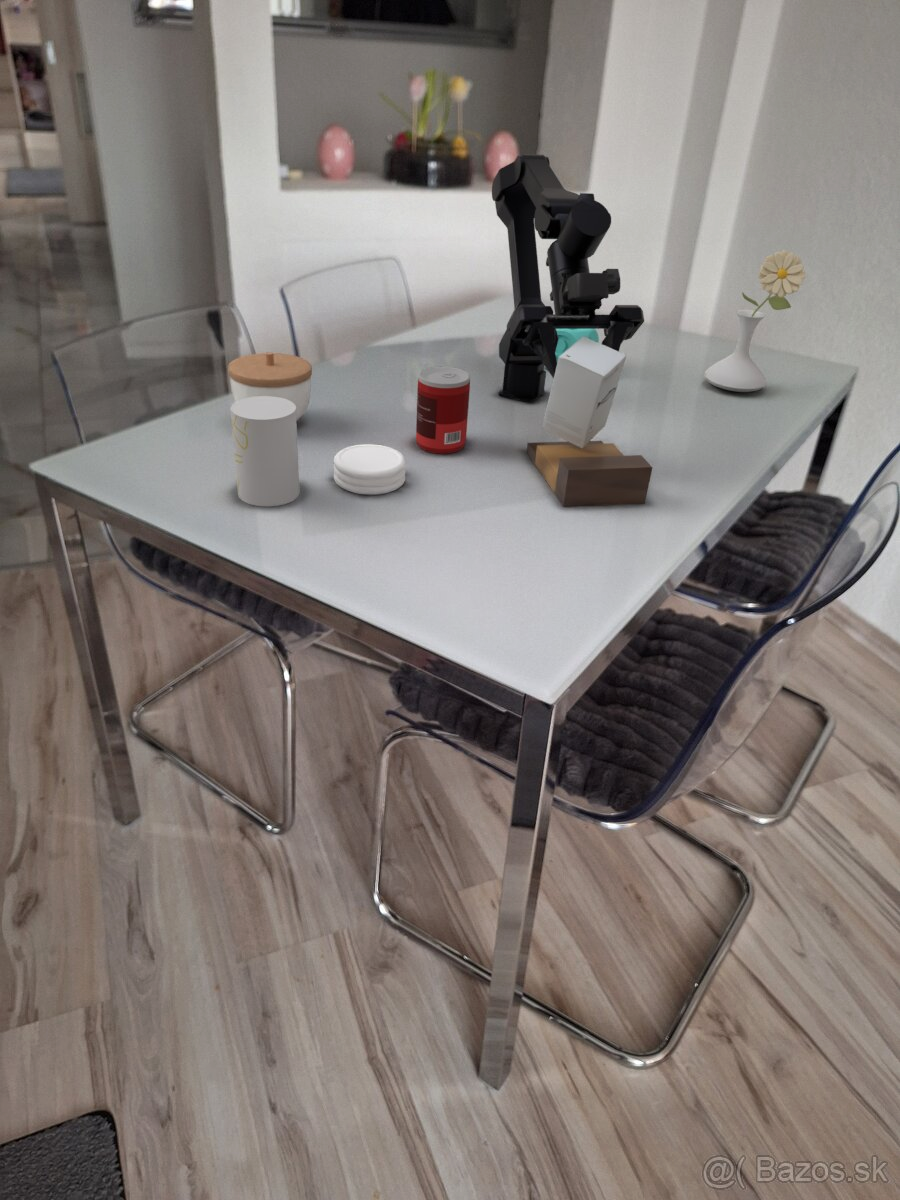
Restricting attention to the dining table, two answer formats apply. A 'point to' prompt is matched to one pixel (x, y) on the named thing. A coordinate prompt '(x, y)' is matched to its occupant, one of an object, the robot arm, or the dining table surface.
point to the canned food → (442, 409)
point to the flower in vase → (738, 367)
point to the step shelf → (591, 473)
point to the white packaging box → (583, 391)
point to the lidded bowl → (272, 378)
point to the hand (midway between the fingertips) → (583, 377)
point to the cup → (265, 450)
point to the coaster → (369, 469)
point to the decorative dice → (572, 338)
